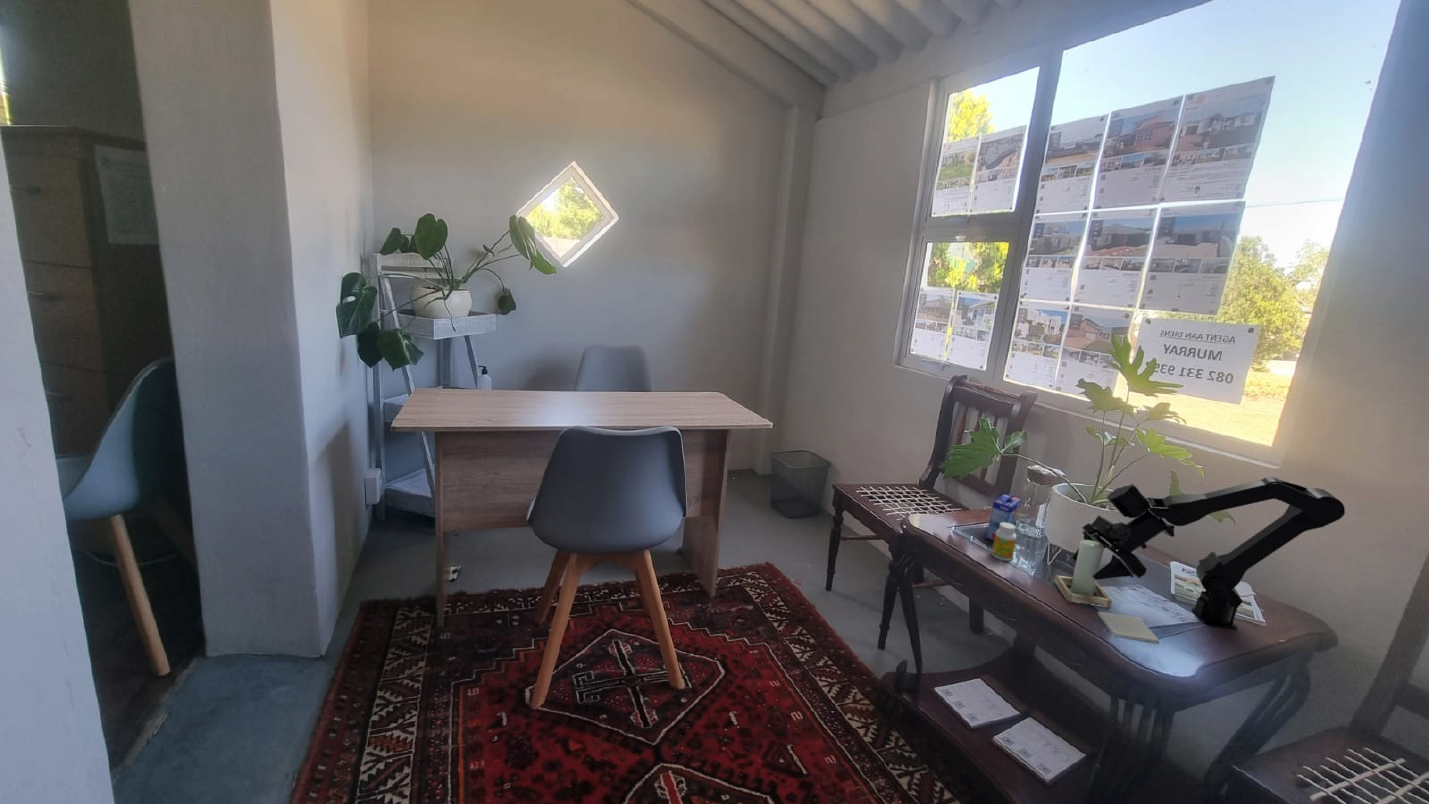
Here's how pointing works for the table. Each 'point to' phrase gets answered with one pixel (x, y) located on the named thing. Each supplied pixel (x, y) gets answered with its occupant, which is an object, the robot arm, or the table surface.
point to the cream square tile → (1127, 627)
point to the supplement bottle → (1004, 542)
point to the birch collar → (1077, 598)
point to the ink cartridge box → (1003, 513)
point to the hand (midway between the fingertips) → (1083, 568)
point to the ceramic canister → (1086, 567)
